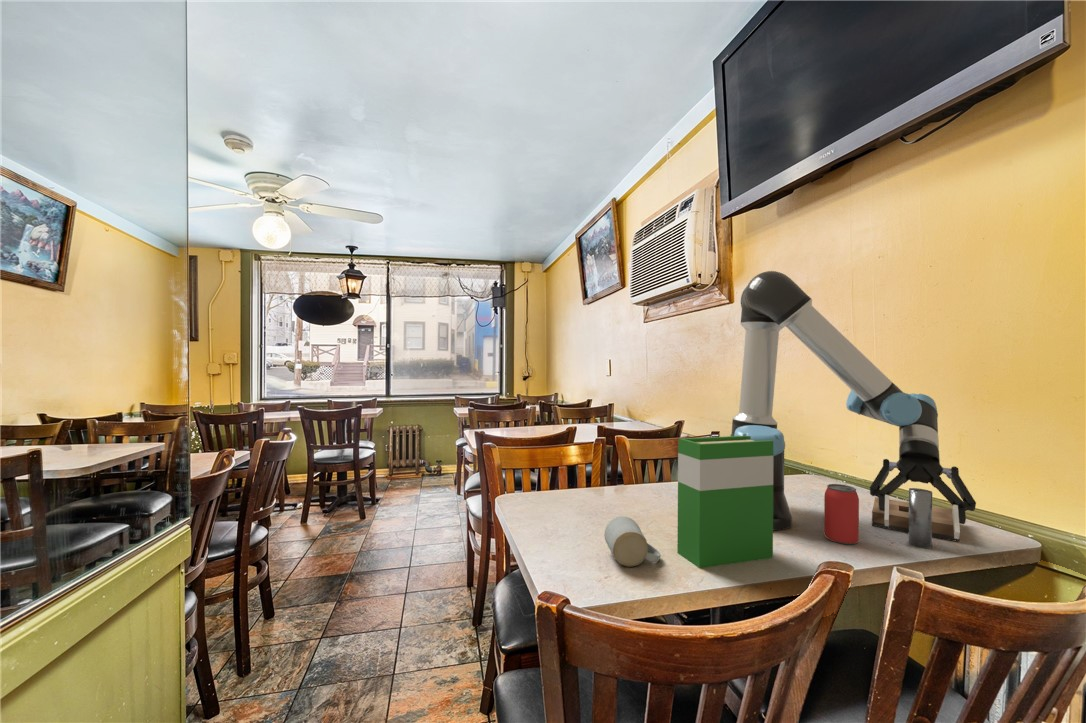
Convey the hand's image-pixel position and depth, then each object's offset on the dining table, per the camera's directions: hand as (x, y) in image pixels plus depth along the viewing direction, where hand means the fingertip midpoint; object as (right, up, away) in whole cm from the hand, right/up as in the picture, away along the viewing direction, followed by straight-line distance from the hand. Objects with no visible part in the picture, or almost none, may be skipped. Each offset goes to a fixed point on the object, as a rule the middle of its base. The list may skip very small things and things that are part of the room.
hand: (920, 529), depth 99 cm
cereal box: (-45, -4, -5) cm, 45 cm away
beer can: (-14, -4, +5) cm, 16 cm away
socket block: (+11, -4, +15) cm, 19 cm away
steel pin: (+2, -4, +2) cm, 5 cm away
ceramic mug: (-64, -4, -7) cm, 65 cm away
